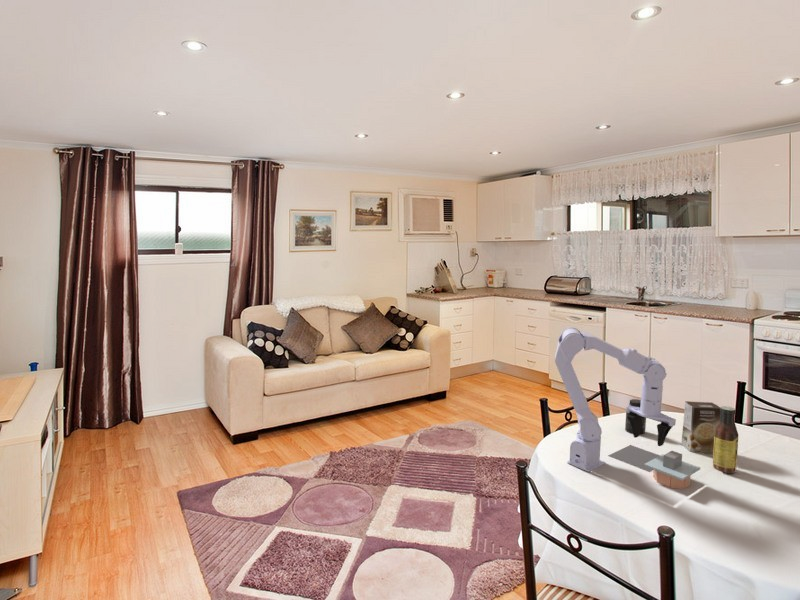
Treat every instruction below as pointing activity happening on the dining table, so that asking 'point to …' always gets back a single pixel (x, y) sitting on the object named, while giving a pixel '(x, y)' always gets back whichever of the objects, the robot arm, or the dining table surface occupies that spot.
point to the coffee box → (700, 426)
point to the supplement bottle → (643, 422)
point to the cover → (672, 465)
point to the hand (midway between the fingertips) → (648, 440)
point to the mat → (634, 456)
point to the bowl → (670, 480)
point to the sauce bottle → (726, 441)
